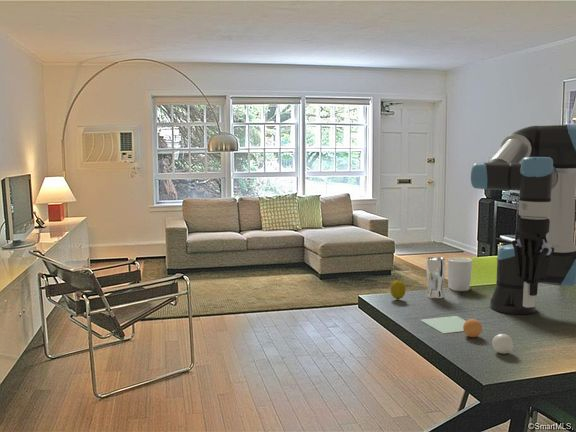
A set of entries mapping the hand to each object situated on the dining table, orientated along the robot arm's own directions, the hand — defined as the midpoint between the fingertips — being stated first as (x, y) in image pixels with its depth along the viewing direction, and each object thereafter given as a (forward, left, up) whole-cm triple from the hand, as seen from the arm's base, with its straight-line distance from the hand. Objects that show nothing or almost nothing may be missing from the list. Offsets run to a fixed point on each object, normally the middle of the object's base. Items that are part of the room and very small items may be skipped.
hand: (528, 306), depth 146 cm
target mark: (0, -36, -16) cm, 39 cm away
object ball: (0, -24, -14) cm, 27 cm away
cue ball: (0, -10, -14) cm, 17 cm away
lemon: (+2, -67, -17) cm, 69 cm away
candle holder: (-30, -75, -17) cm, 82 cm away
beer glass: (-14, -67, -17) cm, 70 cm away
